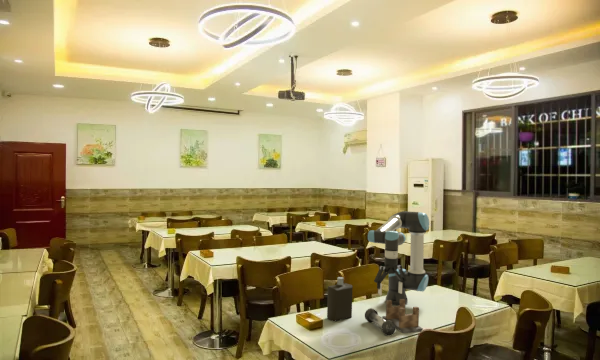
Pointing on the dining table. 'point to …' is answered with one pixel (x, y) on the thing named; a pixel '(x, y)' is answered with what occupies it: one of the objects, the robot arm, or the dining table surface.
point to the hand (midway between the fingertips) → (390, 293)
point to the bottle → (339, 301)
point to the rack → (402, 317)
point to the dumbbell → (380, 322)
